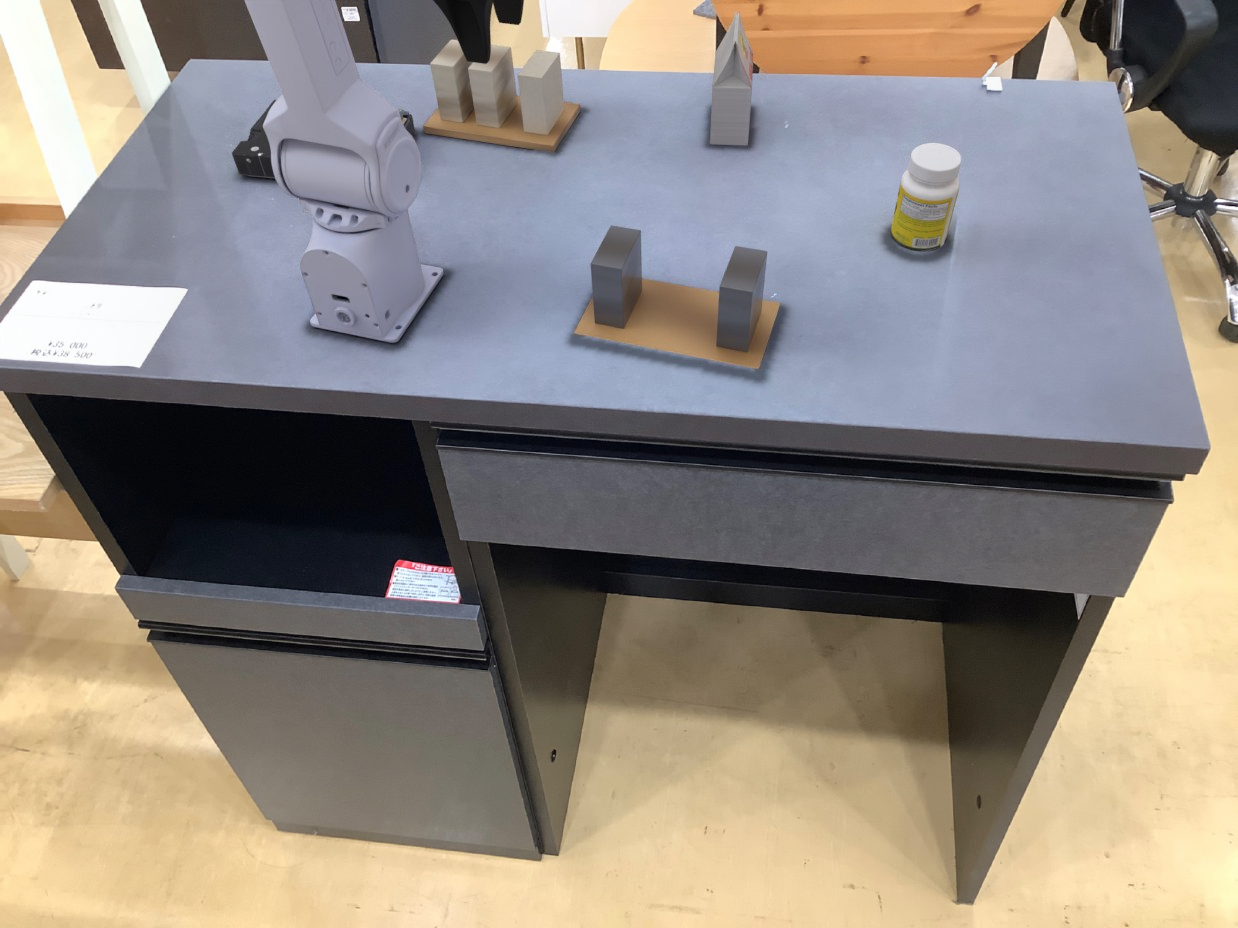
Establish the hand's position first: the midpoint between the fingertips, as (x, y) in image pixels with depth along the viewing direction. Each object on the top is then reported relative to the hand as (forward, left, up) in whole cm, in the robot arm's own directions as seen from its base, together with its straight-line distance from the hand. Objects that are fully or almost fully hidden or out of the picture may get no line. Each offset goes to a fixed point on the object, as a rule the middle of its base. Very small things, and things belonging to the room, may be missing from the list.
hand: (494, 41), depth 91 cm
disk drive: (-8, +16, -10) cm, 20 cm away
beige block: (+2, -3, -9) cm, 10 cm away
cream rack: (+2, +1, -10) cm, 10 cm away
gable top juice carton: (+7, -21, -10) cm, 24 cm away
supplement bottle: (-7, -41, -10) cm, 43 cm away
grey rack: (-23, -23, -10) cm, 34 cm away
